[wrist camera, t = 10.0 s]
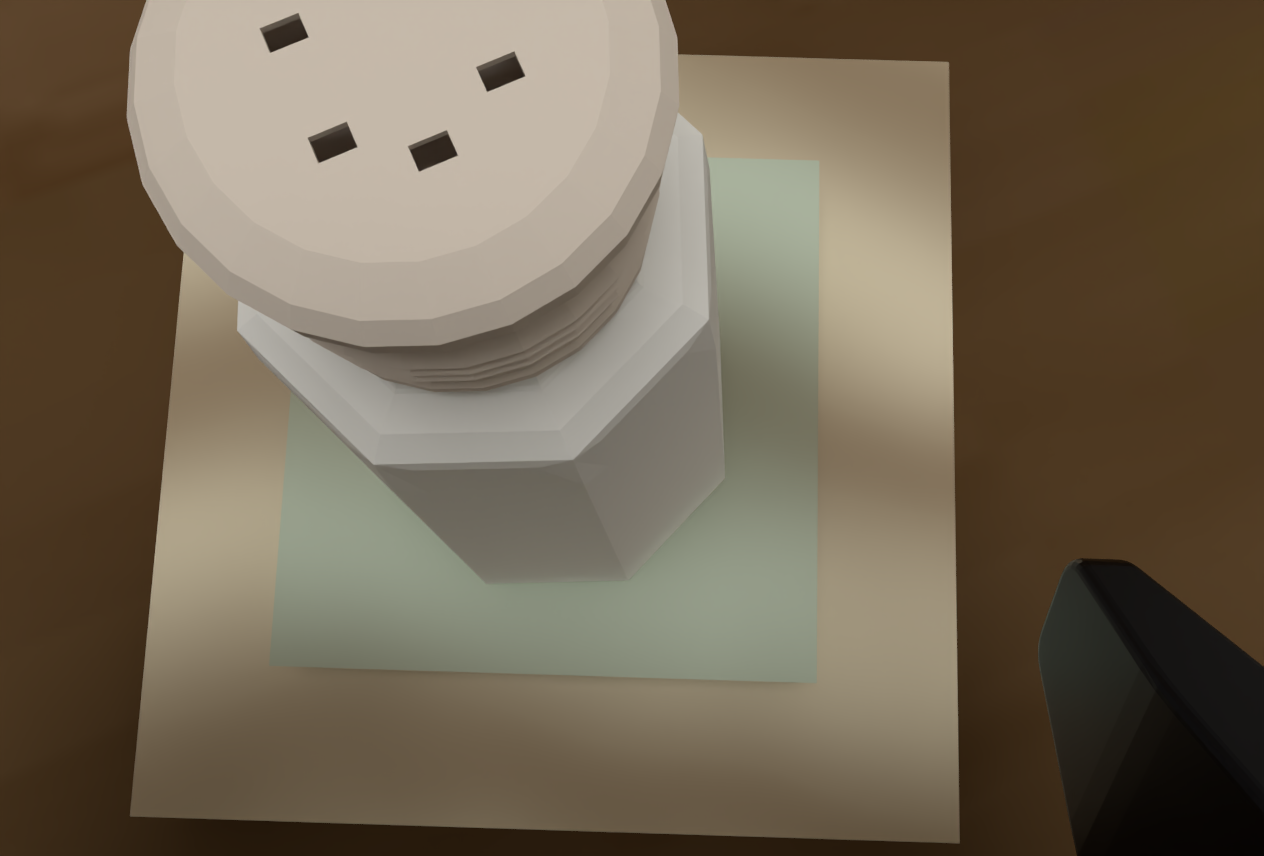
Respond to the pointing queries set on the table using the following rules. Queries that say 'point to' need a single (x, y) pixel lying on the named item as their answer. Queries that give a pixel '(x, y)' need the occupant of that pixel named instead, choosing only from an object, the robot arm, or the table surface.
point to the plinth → (613, 722)
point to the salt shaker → (459, 252)
